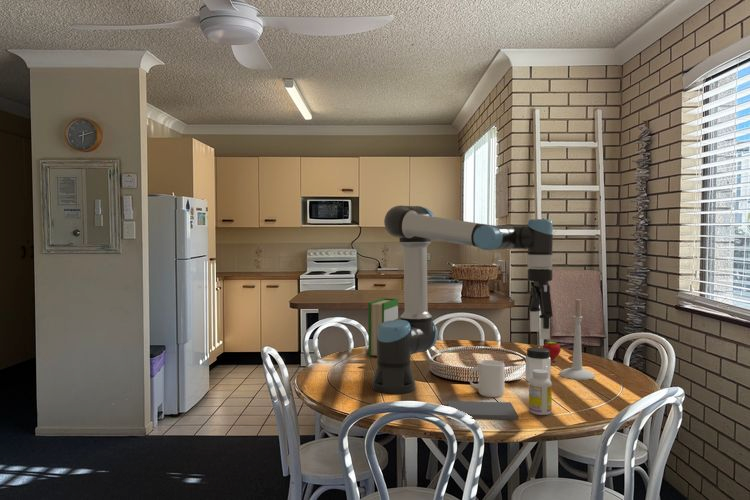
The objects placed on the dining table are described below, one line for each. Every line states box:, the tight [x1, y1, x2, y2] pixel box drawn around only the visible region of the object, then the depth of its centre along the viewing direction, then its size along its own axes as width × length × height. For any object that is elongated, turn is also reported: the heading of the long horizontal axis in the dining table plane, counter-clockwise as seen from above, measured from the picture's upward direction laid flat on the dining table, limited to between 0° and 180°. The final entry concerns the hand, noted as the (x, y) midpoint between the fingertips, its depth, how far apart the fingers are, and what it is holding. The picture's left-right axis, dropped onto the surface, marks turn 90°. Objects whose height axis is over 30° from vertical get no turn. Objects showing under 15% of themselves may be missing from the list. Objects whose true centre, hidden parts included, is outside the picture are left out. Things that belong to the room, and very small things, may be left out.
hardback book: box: [367, 297, 399, 358], centre depth 257 cm, size 18×7×24 cm, turn 158°
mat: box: [447, 400, 519, 421], centre depth 176 cm, size 20×13×1 cm, turn 86°
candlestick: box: [559, 298, 596, 381], centre depth 219 cm, size 13×13×30 cm
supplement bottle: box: [528, 369, 553, 416], centre depth 175 cm, size 7×7×13 cm
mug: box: [468, 359, 506, 398], centre depth 195 cm, size 9×12×11 cm
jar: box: [525, 346, 552, 383], centre depth 211 cm, size 9×8×12 cm
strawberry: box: [542, 340, 562, 362], centre depth 244 cm, size 6×8×10 cm
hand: (539, 335), depth 180 cm, fingers open, 13 cm apart
